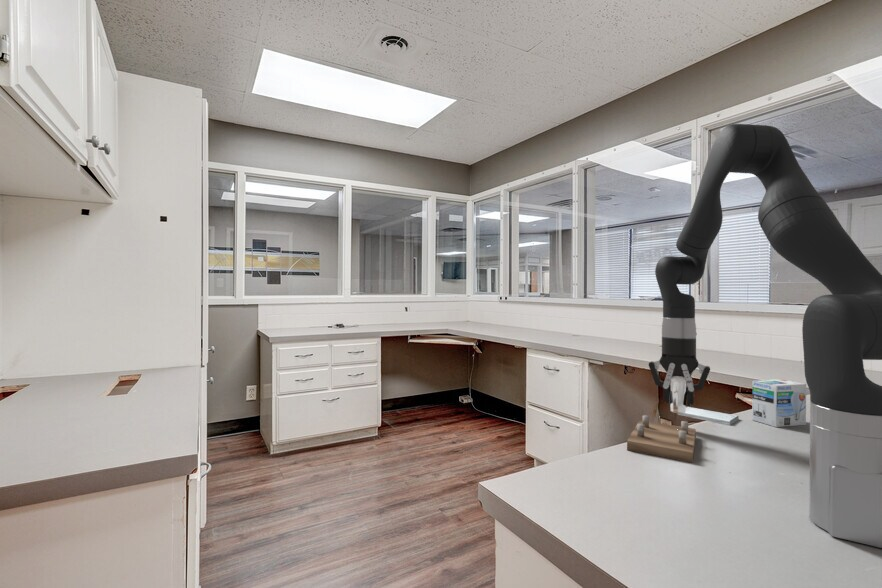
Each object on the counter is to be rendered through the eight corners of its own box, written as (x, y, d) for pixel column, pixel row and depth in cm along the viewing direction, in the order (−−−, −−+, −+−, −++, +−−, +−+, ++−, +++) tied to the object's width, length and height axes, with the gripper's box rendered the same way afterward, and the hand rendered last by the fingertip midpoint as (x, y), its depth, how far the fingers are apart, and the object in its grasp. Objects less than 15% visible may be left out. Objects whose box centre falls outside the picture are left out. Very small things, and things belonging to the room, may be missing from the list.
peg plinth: (692, 462, 83) (692, 439, 83) (627, 449, 90) (627, 428, 90) (695, 437, 98) (695, 418, 98) (639, 428, 105) (639, 410, 105)
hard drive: (738, 415, 114) (688, 405, 123) (729, 421, 108) (677, 410, 118) (738, 421, 114) (688, 411, 123) (729, 427, 108) (677, 416, 118)
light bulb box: (776, 428, 107) (776, 385, 107) (750, 420, 113) (751, 380, 113) (807, 425, 109) (807, 383, 110) (780, 417, 116) (780, 378, 116)
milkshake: (695, 415, 102) (696, 374, 102) (671, 413, 103) (672, 372, 103) (687, 410, 107) (688, 371, 107) (665, 408, 108) (666, 369, 108)
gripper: (645, 335, 106) (645, 403, 106) (712, 338, 99) (712, 412, 98) (649, 333, 113) (648, 398, 112) (712, 336, 105) (712, 405, 105)
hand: (678, 404), depth 105 cm, fingers closed on milkshake, 4 cm apart
